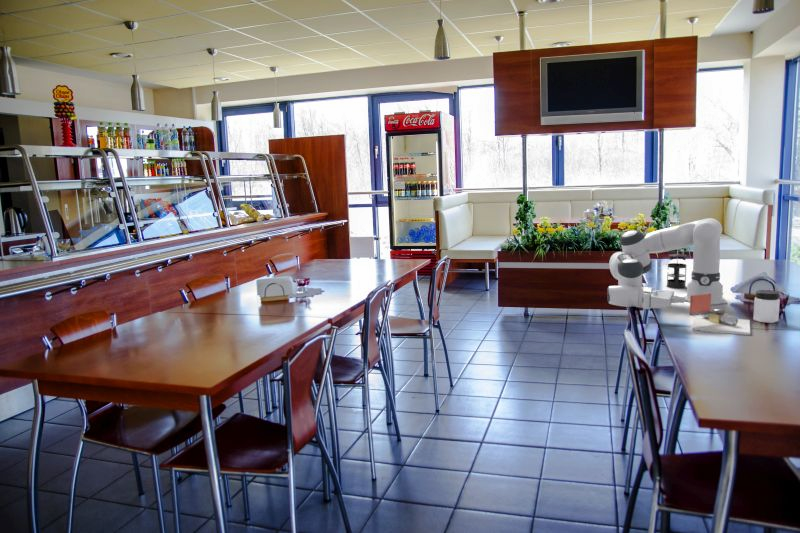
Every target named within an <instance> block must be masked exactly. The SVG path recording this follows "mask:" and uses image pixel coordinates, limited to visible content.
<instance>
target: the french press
mask: <svg viewBox="0 0 800 533" xmlns="http://www.w3.org/2000/svg"><path fill="white" fill-rule="evenodd" d="M676 250H677V253H674V254H673V253H672V254H668V255H667V256H668V259H669V260H670V261H671V260H674V259H676V262H674V263H671V262H670V263H667V268H669V269H671V268H672V269H673V273H667V280H666V287H667V288H670V289H685V287H686V288H687V285H686V282H687V281H686V280H687V278H686V277H687V264H685V263H678V260H679V259H680V260H684V261H686V260H687V259H686V258H687V256H688V255H686V254H681V253H679V249H676ZM680 269H684V270H685V272H684V274H682V273H680ZM669 277H671V279H670V278H669ZM680 278H684V279H680Z"/></svg>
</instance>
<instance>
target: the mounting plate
mask: <svg viewBox="0 0 800 533" xmlns="http://www.w3.org/2000/svg"><path fill="white" fill-rule="evenodd" d="M737 319H738V323H737V325H735V326H733V325H729V324H726V323H721V324H718V323H714V322H711V321H709V319H708V318H705V317H702V316H701V315H695V316H694V318H693V323H692V326H691V330H692V331H697V330H700V332H708V331H711V332H710V333H722V334H730V335H731V334H733V335H742V336H751V324H750V319H741V318H737Z"/></svg>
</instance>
